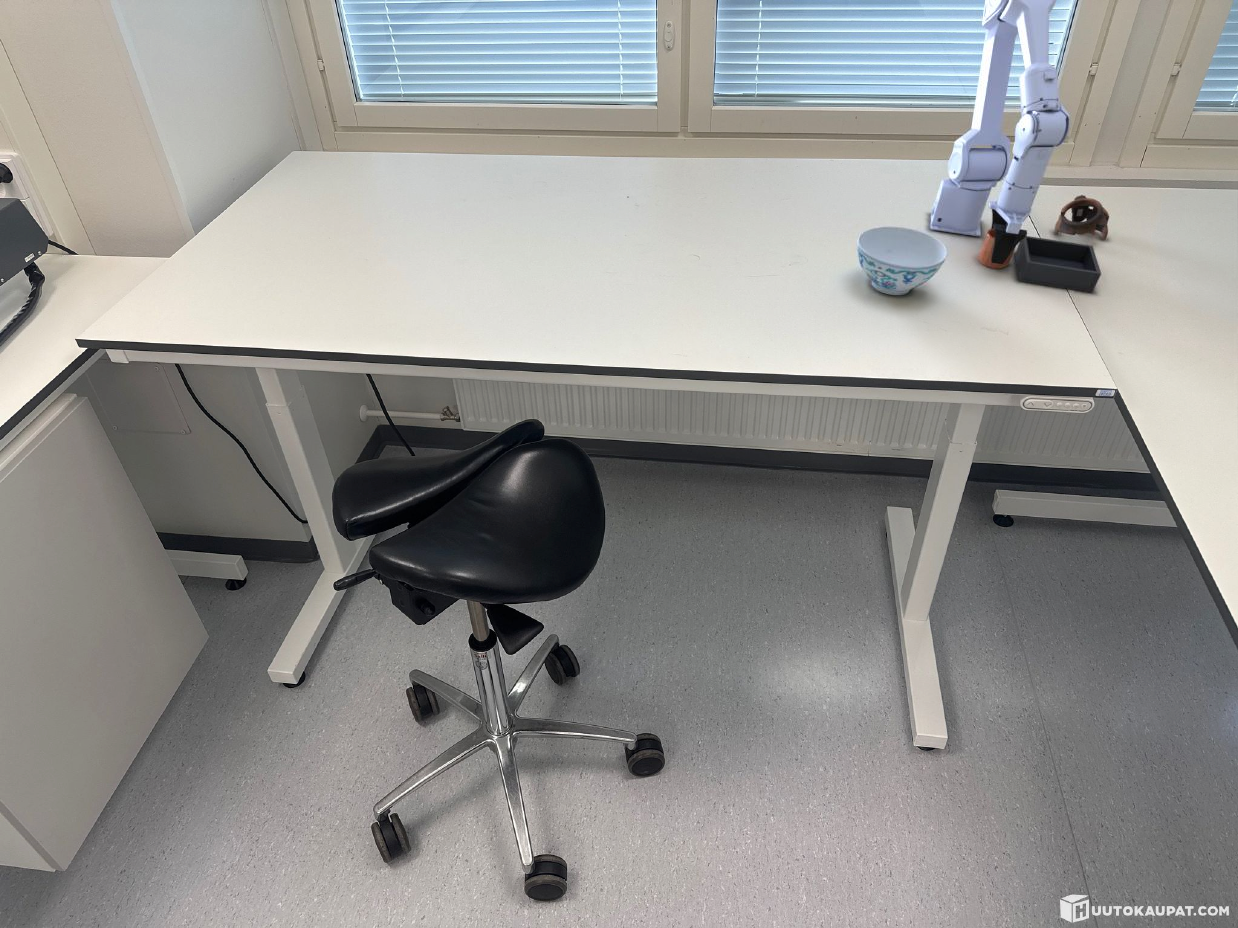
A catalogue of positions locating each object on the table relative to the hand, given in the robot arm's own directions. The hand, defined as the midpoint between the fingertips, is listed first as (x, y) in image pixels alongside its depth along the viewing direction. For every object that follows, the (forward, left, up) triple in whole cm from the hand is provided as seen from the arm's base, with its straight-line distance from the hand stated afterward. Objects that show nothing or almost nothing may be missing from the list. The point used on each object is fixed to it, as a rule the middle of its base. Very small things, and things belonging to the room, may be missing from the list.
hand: (995, 253), depth 150 cm
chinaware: (-18, -16, -2) cm, 24 cm away
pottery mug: (+17, +19, -2) cm, 26 cm away
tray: (+10, 0, -2) cm, 11 cm away
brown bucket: (0, 0, -2) cm, 2 cm away
